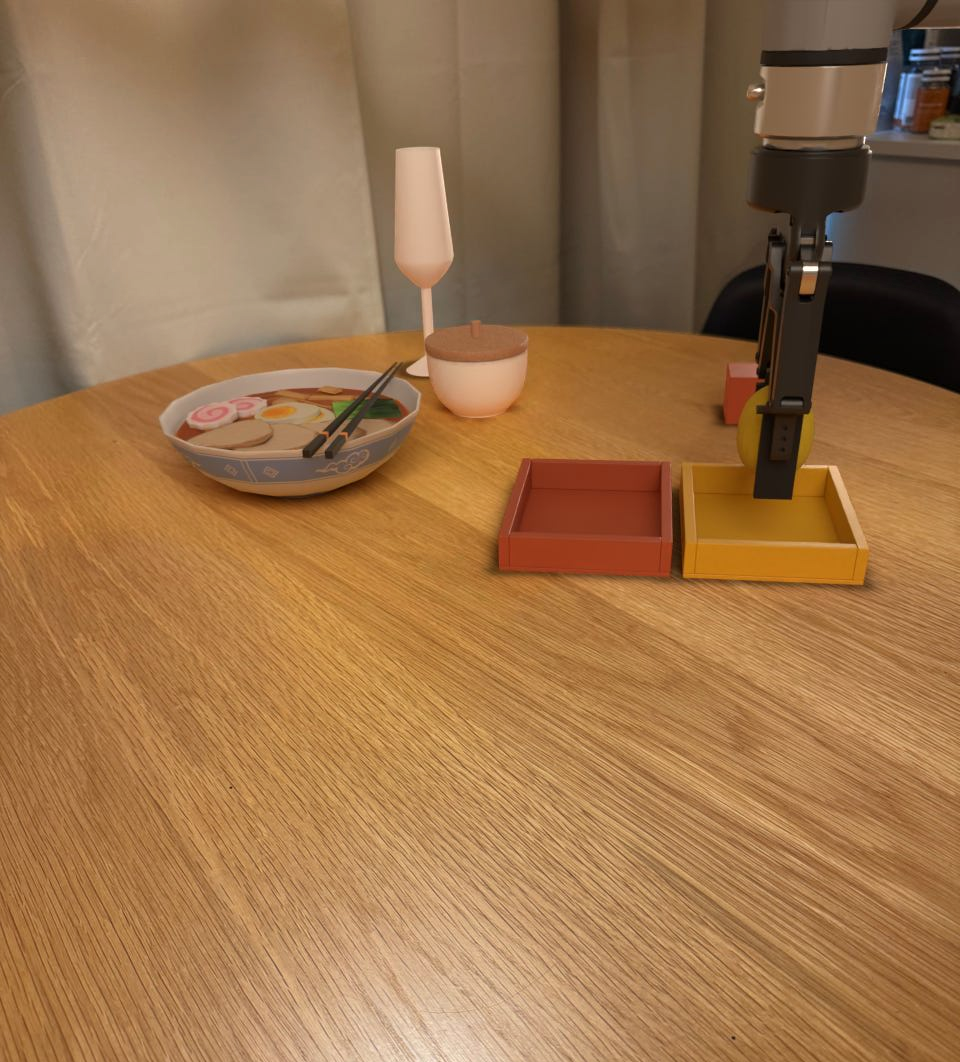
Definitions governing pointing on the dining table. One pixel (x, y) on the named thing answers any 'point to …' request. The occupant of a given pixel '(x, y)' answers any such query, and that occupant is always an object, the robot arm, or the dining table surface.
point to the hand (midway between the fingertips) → (768, 480)
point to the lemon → (752, 427)
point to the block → (738, 389)
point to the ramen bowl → (293, 428)
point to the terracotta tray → (589, 518)
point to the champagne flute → (421, 228)
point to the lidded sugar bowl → (477, 367)
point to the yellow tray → (769, 527)
